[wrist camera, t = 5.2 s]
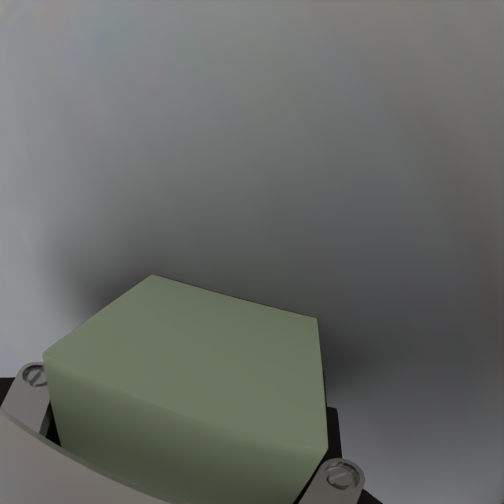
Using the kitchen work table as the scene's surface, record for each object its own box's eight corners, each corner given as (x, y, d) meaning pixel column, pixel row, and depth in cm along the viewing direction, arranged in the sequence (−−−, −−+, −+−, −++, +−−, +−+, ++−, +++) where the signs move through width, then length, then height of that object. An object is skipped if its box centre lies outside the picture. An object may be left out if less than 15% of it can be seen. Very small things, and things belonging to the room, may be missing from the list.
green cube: (316, 318, 11) (328, 448, 5) (272, 436, 12) (254, 553, 6) (152, 274, 11) (42, 352, 5) (142, 396, 13) (76, 491, 7)
